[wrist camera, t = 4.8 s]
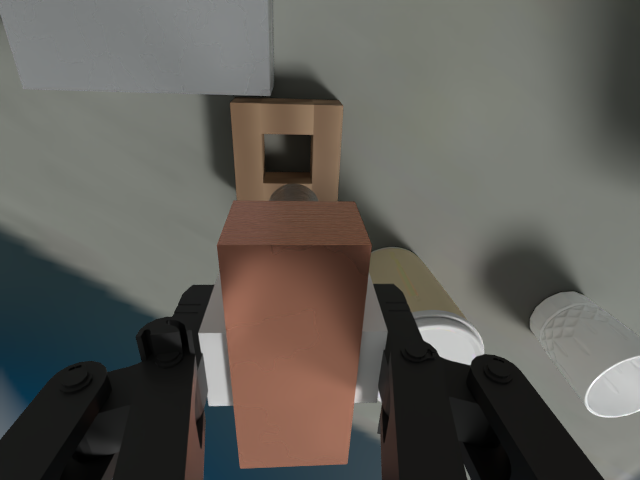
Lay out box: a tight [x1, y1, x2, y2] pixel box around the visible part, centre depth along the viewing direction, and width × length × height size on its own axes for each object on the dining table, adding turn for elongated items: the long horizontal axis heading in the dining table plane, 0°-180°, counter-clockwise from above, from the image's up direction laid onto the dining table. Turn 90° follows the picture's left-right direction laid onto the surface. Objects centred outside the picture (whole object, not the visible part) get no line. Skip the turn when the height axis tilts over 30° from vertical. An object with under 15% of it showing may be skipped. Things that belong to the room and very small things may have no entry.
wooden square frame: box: [230, 97, 343, 201], centre depth 30 cm, size 8×8×3 cm
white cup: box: [530, 291, 640, 417], centre depth 38 cm, size 8×8×10 cm
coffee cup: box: [369, 247, 484, 403], centre depth 33 cm, size 9×9×12 cm
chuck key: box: [217, 183, 372, 468], centre depth 15 cm, size 3×8×12 cm, turn 178°
